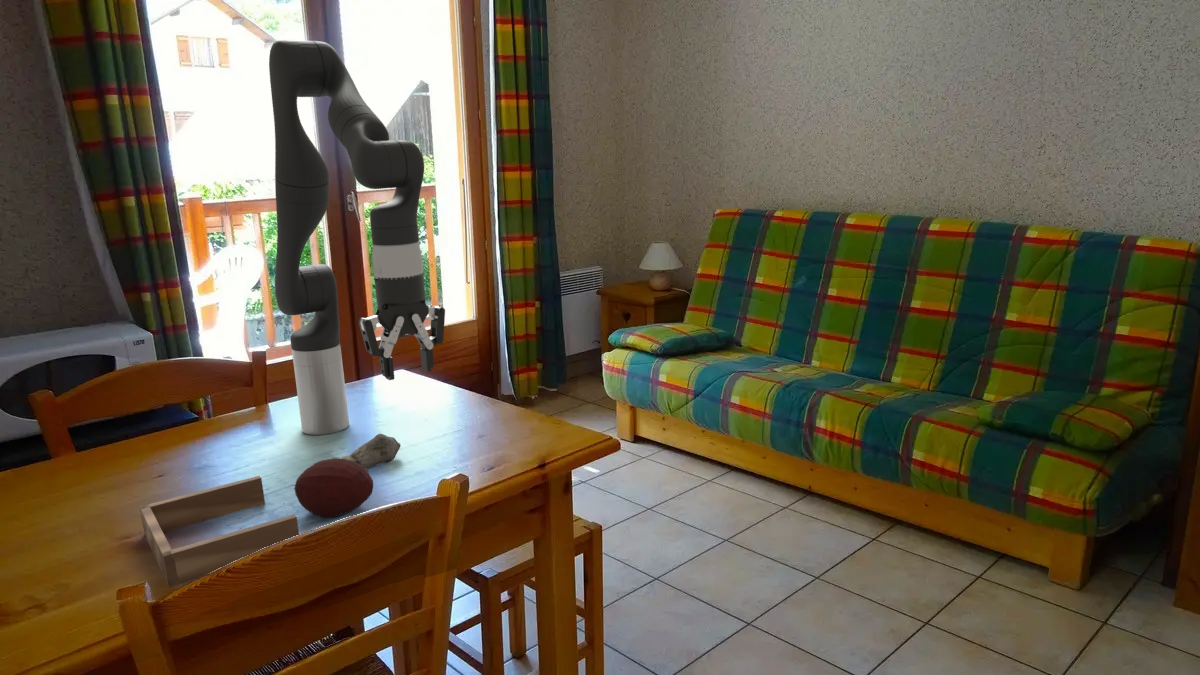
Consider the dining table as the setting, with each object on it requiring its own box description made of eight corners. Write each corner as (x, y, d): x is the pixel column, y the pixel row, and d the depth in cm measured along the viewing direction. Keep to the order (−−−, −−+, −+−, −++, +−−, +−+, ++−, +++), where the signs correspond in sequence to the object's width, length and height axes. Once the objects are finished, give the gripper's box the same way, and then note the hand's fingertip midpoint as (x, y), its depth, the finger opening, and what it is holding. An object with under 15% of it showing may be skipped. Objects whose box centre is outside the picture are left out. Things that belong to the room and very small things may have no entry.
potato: (293, 505, 131) (286, 457, 129) (363, 489, 136) (358, 442, 134) (306, 534, 121) (299, 482, 119) (381, 515, 126) (376, 465, 124)
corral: (144, 534, 123) (139, 506, 121) (263, 501, 133) (259, 475, 131) (169, 587, 107) (163, 556, 106) (300, 545, 117) (296, 516, 116)
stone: (342, 481, 142) (370, 456, 139) (329, 455, 143) (356, 429, 140) (383, 475, 150) (410, 451, 147) (370, 451, 152) (397, 426, 149)
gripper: (430, 263, 134) (438, 362, 139) (345, 274, 126) (356, 379, 130) (451, 268, 129) (459, 371, 133) (363, 280, 120) (374, 389, 124)
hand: (408, 374), depth 131 cm, fingers open, 5 cm apart
